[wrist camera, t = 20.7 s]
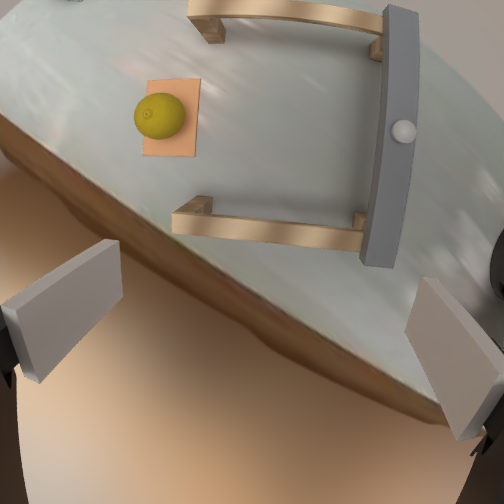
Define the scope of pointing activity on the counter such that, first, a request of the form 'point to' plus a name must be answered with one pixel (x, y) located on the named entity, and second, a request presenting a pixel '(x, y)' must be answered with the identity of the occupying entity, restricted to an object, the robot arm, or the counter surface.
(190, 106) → the pad
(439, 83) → the counter surface
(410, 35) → the bar
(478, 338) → the robot arm
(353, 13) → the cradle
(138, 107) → the lemon
